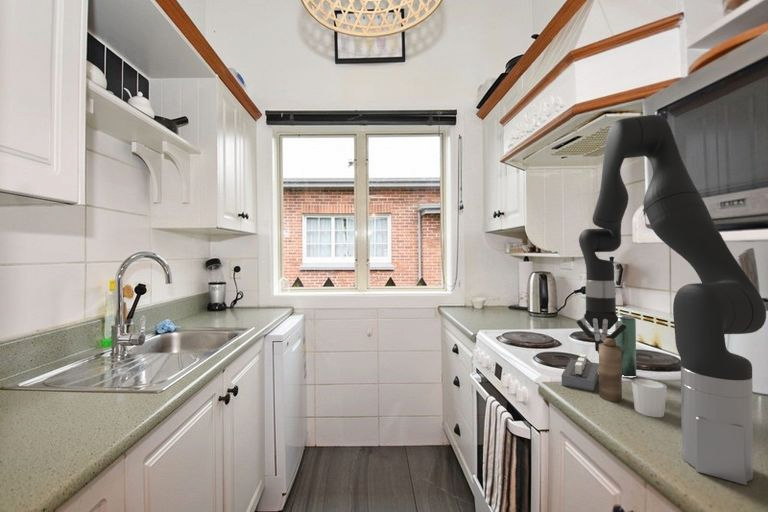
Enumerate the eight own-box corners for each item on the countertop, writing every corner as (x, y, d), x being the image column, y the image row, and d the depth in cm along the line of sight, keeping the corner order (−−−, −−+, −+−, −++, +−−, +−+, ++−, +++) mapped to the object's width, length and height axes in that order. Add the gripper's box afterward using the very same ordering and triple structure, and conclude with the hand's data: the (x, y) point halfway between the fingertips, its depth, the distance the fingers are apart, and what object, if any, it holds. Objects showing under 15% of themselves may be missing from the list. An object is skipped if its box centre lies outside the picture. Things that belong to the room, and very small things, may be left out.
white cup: (674, 419, 77) (674, 389, 77) (640, 417, 79) (640, 387, 79) (656, 406, 84) (656, 378, 84) (626, 404, 85) (625, 377, 85)
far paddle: (585, 365, 105) (585, 356, 105) (579, 364, 106) (579, 355, 106) (586, 362, 108) (586, 354, 108) (580, 361, 108) (580, 353, 108)
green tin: (636, 379, 101) (635, 318, 101) (615, 376, 104) (614, 316, 104) (636, 374, 106) (635, 315, 105) (616, 371, 109) (615, 313, 109)
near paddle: (581, 374, 97) (581, 365, 97) (575, 373, 98) (575, 364, 98) (582, 371, 100) (582, 362, 100) (576, 370, 101) (576, 361, 100)
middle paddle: (583, 369, 101) (583, 361, 101) (577, 368, 102) (577, 360, 102) (584, 366, 104) (584, 358, 104) (578, 365, 104) (578, 357, 104)
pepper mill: (621, 403, 86) (620, 341, 86) (598, 398, 89) (597, 338, 89) (622, 396, 90) (621, 337, 90) (600, 392, 93) (599, 335, 93)
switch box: (593, 391, 93) (593, 380, 93) (561, 385, 98) (561, 374, 98) (599, 372, 108) (598, 363, 108) (571, 367, 112) (570, 358, 112)
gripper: (573, 295, 100) (574, 352, 100) (627, 298, 92) (628, 360, 92) (576, 292, 106) (577, 347, 106) (627, 295, 98) (628, 353, 98)
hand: (601, 353), depth 99 cm, fingers closed
